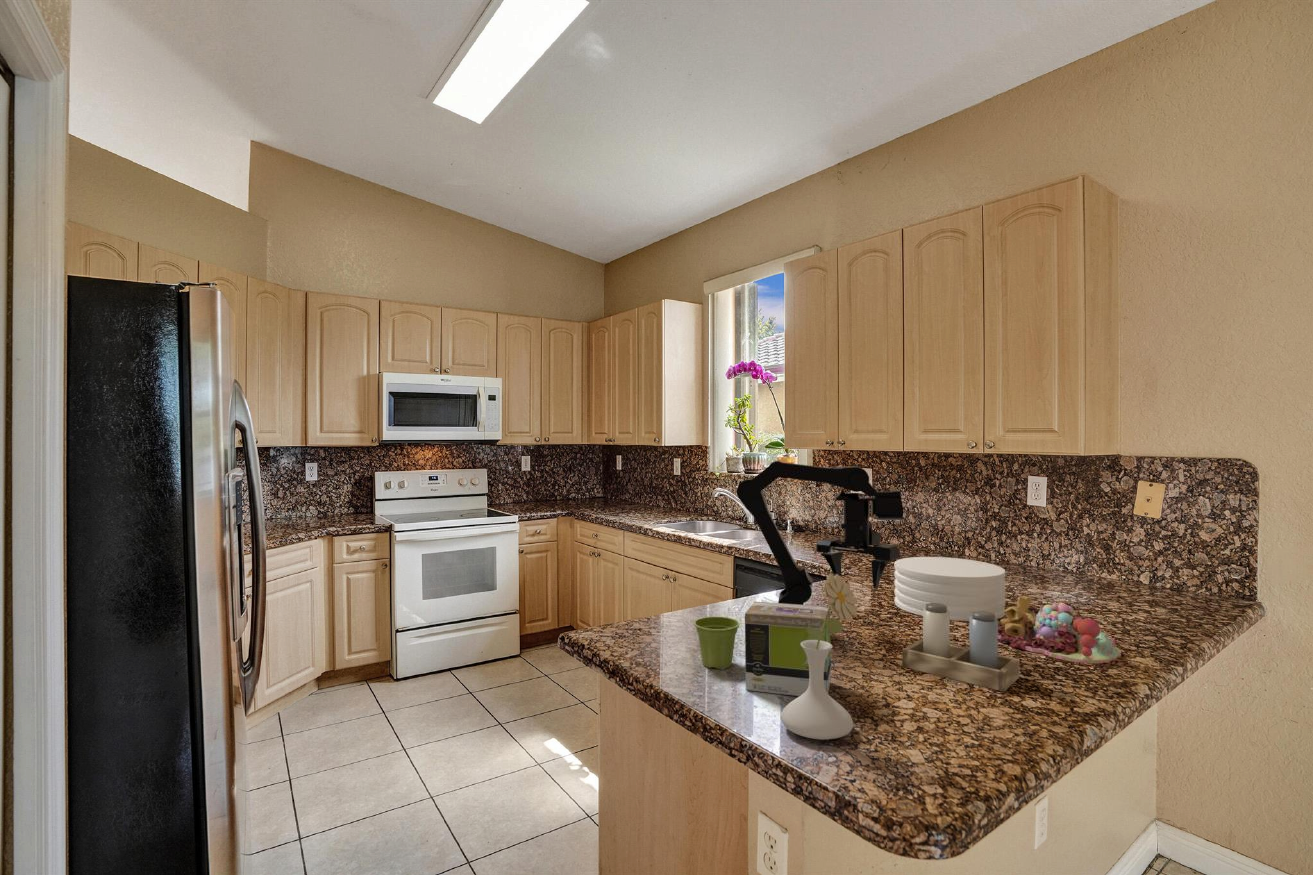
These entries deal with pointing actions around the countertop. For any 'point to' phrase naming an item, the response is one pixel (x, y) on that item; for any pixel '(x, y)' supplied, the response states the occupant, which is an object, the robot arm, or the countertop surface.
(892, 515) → the robot arm
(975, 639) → the blue shaker
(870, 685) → the countertop surface
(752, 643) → the tea box
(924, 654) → the beech slot rack
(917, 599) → the plate stack
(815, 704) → the flower in vase
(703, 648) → the plant pot
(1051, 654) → the multicoloured low bumpy piece
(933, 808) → the countertop surface
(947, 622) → the cylinder
